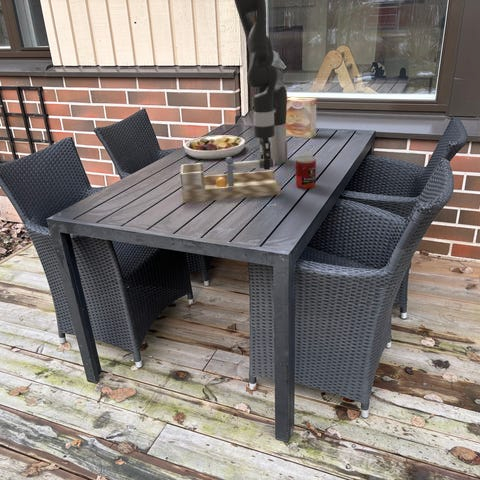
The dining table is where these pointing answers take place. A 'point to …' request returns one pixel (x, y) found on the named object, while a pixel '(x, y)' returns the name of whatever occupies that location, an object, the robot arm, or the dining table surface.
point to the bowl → (214, 146)
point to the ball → (221, 182)
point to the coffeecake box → (301, 117)
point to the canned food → (305, 172)
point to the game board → (244, 186)
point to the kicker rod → (243, 167)
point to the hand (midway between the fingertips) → (265, 166)
